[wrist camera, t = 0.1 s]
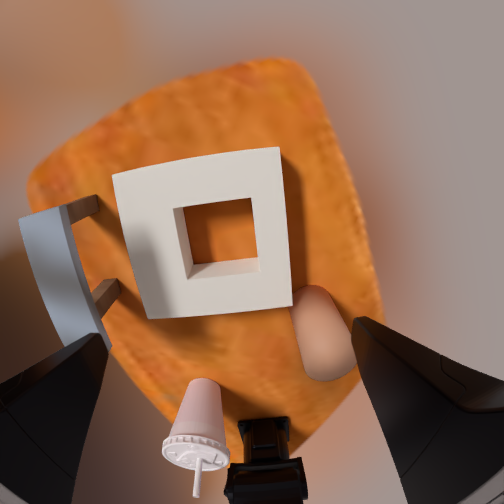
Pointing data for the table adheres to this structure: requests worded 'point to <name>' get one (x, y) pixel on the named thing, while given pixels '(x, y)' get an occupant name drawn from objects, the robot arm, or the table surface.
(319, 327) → the peg
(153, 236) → the socket board
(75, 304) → the grey arch
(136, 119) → the table surface
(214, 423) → the smoothie
